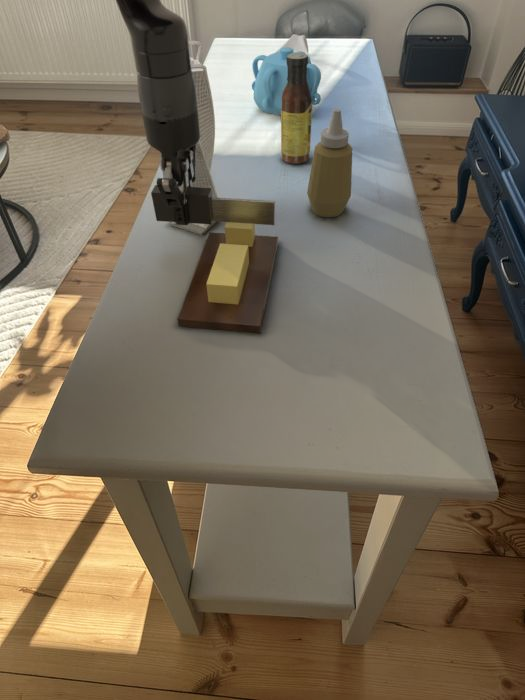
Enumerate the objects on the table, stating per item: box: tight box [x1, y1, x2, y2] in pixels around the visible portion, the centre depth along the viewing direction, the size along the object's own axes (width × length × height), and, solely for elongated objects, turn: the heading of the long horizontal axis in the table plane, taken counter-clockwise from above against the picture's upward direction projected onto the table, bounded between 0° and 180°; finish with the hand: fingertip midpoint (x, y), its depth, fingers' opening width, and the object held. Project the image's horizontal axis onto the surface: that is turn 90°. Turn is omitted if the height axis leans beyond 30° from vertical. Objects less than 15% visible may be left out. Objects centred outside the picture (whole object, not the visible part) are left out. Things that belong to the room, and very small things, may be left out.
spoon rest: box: [274, 33, 311, 59], centre depth 142 cm, size 24×12×7 cm, turn 167°
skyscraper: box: [169, 40, 219, 236], centre depth 79 cm, size 8×8×28 cm
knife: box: [150, 184, 276, 226], centre depth 76 cm, size 19×2×5 cm, turn 82°
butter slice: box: [224, 222, 256, 247], centre depth 80 cm, size 4×3×4 cm, turn 82°
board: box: [176, 231, 279, 334], centre depth 76 cm, size 12×22×2 cm, turn 172°
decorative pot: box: [251, 47, 322, 116], centre depth 119 cm, size 16×16×14 cm
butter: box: [207, 244, 249, 305], centre depth 73 cm, size 4×10×4 cm, turn 172°
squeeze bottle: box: [306, 108, 353, 218], centre depth 84 cm, size 8×8×18 cm
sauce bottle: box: [280, 53, 313, 165], centre depth 98 cm, size 7×6×20 cm
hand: (184, 218), depth 78 cm, fingers closed on knife, 2 cm apart
